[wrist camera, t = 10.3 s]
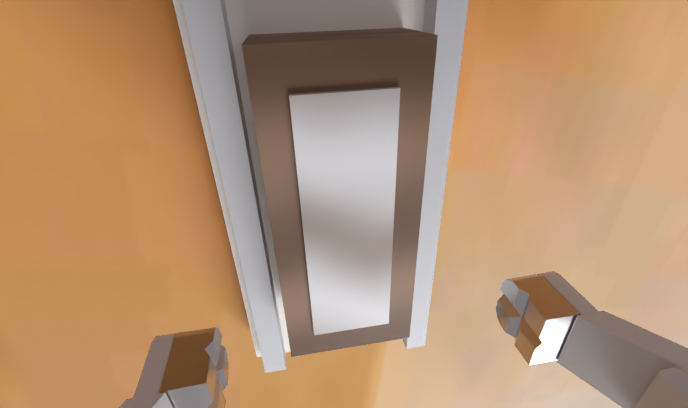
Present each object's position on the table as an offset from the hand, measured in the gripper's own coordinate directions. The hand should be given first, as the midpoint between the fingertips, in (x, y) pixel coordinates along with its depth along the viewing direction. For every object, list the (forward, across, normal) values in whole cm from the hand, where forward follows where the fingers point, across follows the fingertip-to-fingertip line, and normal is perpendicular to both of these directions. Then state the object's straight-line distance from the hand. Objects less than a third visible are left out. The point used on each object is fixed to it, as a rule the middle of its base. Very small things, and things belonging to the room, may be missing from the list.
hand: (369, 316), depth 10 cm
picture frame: (+8, 0, 0) cm, 8 cm away
